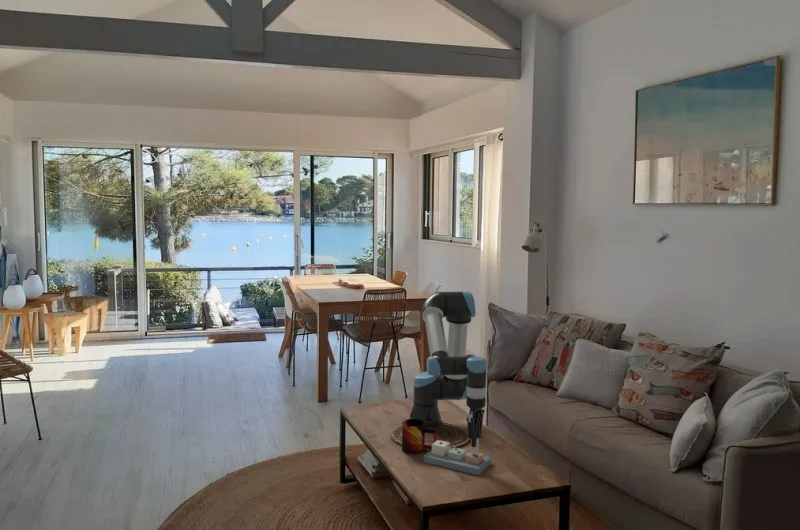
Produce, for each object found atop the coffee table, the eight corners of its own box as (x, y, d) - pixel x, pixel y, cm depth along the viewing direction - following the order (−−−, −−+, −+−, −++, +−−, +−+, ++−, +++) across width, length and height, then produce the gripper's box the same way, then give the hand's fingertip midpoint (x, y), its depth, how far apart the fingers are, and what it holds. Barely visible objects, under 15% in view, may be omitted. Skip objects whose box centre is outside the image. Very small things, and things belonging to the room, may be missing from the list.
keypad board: (437, 450, 274) (437, 445, 273) (490, 463, 262) (490, 457, 262) (423, 461, 262) (423, 456, 262) (478, 475, 251) (478, 469, 250)
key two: (453, 457, 266) (454, 446, 265) (466, 459, 263) (466, 449, 263) (448, 461, 261) (448, 451, 261) (460, 464, 258) (460, 454, 258)
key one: (437, 449, 269) (437, 439, 269) (449, 452, 267) (449, 441, 266) (431, 454, 265) (431, 443, 264) (443, 457, 262) (443, 446, 261)
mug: (436, 452, 272) (437, 425, 271) (405, 455, 269) (405, 427, 267) (430, 443, 282) (430, 417, 280) (399, 446, 278) (399, 419, 277)
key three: (470, 460, 262) (470, 450, 262) (483, 463, 259) (483, 453, 259) (465, 465, 257) (465, 455, 257) (477, 468, 255) (478, 457, 254)
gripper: (473, 390, 263) (472, 446, 265) (460, 399, 251) (459, 457, 254) (491, 393, 259) (489, 450, 262) (478, 402, 248) (476, 461, 250)
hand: (474, 453), depth 258 cm, fingers closed
